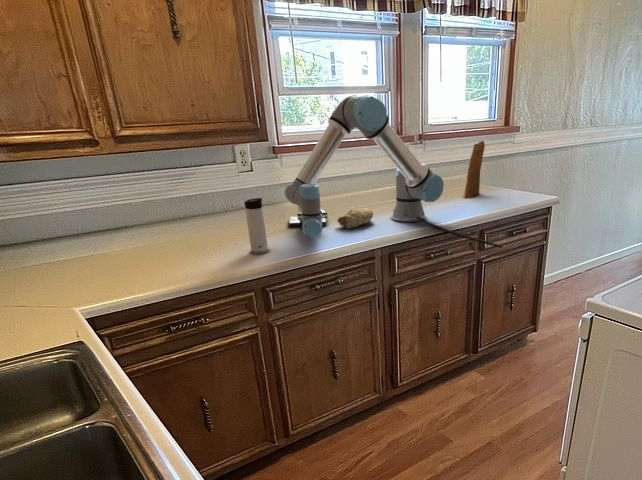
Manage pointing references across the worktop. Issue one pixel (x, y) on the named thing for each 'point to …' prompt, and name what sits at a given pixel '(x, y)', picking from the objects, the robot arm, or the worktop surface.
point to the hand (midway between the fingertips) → (312, 207)
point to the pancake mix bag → (474, 171)
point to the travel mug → (256, 226)
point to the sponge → (355, 217)
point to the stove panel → (297, 223)
